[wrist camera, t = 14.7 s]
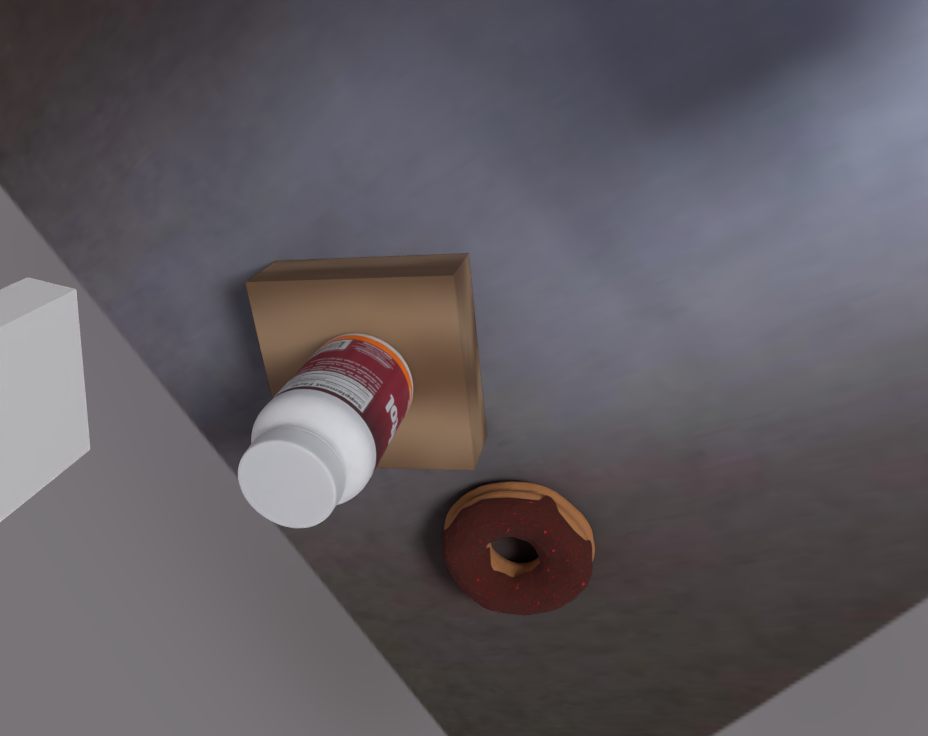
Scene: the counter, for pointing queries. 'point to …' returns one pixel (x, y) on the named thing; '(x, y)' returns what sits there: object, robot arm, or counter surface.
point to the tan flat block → (386, 340)
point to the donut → (527, 518)
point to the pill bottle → (325, 430)
